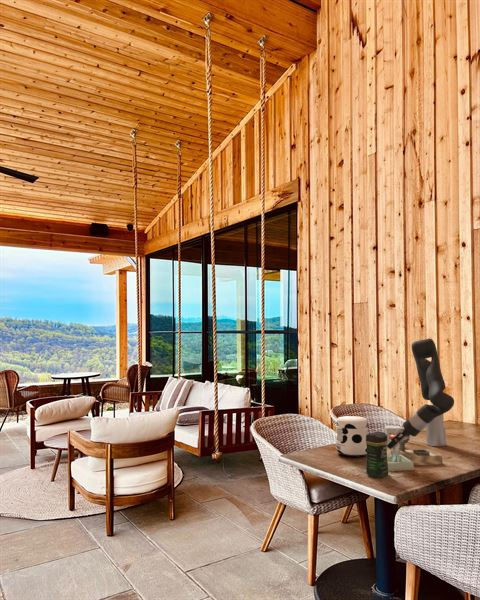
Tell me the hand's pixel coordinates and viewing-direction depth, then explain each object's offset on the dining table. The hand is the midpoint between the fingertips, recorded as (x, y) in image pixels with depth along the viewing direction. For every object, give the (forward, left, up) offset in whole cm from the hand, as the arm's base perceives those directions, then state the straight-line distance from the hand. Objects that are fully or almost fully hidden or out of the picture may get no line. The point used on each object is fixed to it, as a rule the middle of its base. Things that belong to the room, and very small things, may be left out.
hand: (392, 445), depth 214 cm
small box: (-16, -34, -10) cm, 39 cm away
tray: (-1, +1, -9) cm, 9 cm away
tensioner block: (-15, -6, -9) cm, 19 cm away
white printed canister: (+11, -22, -10) cm, 27 cm away
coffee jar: (+12, +12, -10) cm, 20 cm away
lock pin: (-1, +1, -9) cm, 9 cm away
